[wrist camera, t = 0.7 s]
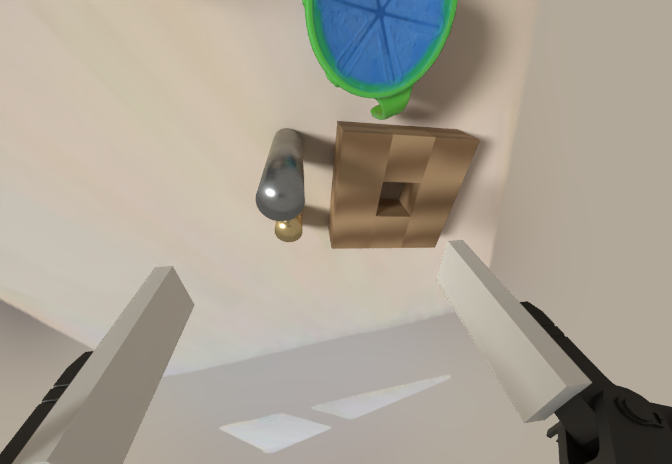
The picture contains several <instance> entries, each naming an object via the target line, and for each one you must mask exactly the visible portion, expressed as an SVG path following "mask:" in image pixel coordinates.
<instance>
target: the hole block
mask: <svg viewBox="0 0 672 464" xmlns="http://www.w3.org/2000/svg"><path fill="white" fill-rule="evenodd" d="M479 141H480V140H479V139H477V138H475V137H472V136H470V135H468V134H466V133H464V132H462V131H460V130H457V129H444V128H429V127H415V126H401V125H386V124H372V123H358V122H343V121H337V133H336V145H335V156H334V168H333V180H332V192H331V204H330V215H329V227H328V229H329V235H330V241H331V247H332V249H337V248H429V247H435V246H436V244H437V241H438V239H439V237H440V234H441V232H442V229H443V227H444V225H445V222H446V220H447V218H448V215H449V213H450V210H451V208H452V206H453V203H454V201H455V199H456V196H457V194H458V191H459V189H460V187H461V184H462V182H463V179H464V177H465V175H466V172H467V170H468V168H469V165H470V163H471V160H472V158H473V156H474V153H475V151H476V149H477V146H478V144H479ZM383 182H403V185H402V189H401V193H400V197H399V199H380V194H381V189H382V185H383Z"/></svg>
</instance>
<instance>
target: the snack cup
mask: <svg viewBox="0 0 672 464" xmlns="http://www.w3.org/2000/svg"><path fill="white" fill-rule="evenodd" d="M302 1H303V5H304V7H305V17H306V25H307V31H308V36H309V39H310V43H311V46H312V49H313V51H314V53H315V56H316V58H317V60H318V62H319V63H320V65H321V67H322V68H323V70H324V71H325V73H326V76H327V78H328V79H329V80H330V82H331V83H333V84H334V85H335V87H341V88H342V89H344V90H345V91H347V92H349V93H351V94H354V95H357V96H360V97H365V98H374V99H376V100H377V101H378V102H379V104H380V105H377V106H375V107H374V108H372V110H371V113H372V116H373V117H375V118H377V119H381V120H383V119H387V118H389V117H392V116H393V115H397V114H399V113H401V112H402V111H403V110H404V109H405V107H406V105H407V103H408V100H409V98H410V94H411V90H412V87H413V85H414V83H415V82H416V81H418V80H419V79H420V78H421V77H422V76H423V75H424V74H425V73H426V72H427V71H428V70H429V68H430V67H431V66H432V65H433V63H434V62H435V60H436V59H437V58H438V56H439V54H440V52H441V51H442V49H443V47H444V45H445V42H446V40H447V38H448V36H449V34H450V31H451V28H452V23H453V20H454V17H455V12H456V7H457V0H302Z"/></svg>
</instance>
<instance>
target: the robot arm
mask: <svg viewBox="0 0 672 464" xmlns="http://www.w3.org/2000/svg"><path fill="white" fill-rule="evenodd" d="M436 281H437V282H438V284H439V286H440V287H441V289H442V290H443V292H444V294H445V295H446V297H447V299H448V300H449V302H450V303H451V305H452V307H453V308H454V310H455V312H456V313H457V315H458V316H459V318H460V320H461V321H462V323H463V324H464V326H465V328H466V329H467V331H468V333H469V334H470V336H471V337H472V339H473V341H474V342H475V344H476V346H477V347H478V349H479V351H480V352H481V354H482V355H483V357H484V359H485V360H486V362H487V363H488V365H489V366H490V368H491V370H492V372H493V373H494V375H495V376H496V378H497V380H498V381H499V383H500V384H501V386H502V387H503V389H504V391H505V393H506V394H507V396H508V398H509V399H510V401H511V402H512V404H513V405H514V407H515V409H516V411H517V412H518V414H519V415H520V417H521V419H522V420H523V422H524V423H528V422H534V421H540V420H545V419H547V418H548V417H549V416H550V415H552V414H553V413H555V414H556V416H557V417H558V419H559V420H560V421H559V422H558V423H557V424H555V425H554V426H553V427H551V428H550V429H549V430H548V431H547V437H549V438H552V437H553V436H554V435H556V434H558V439H557V441H556V442H558V445H559V462H560V464H672V407H669V406H664V405H660V404H655V403H650V402H649V401H647V400H646V399H645V398H643V397H642V396H641V395H639V394H637V393H635V392H633V391H631V390H629V389H627V388H624V387H621V386H616V385H615V384H613V383H612V382H611V381H610V380H609V379H608V378H607V377H605V376H604V374H603V373H602V372H601V371H600V370H599V369H598V368H597V367H596V366H595V365H594V364H593V363H592V362H591V361H590V360H589V359H588V358H587V357H586V356H585V355H584V354H583V353H582V352H581V351H580V350H579V349H578V348H577V347H576V346H575V345H574V344H573V342H571V340H570V339H569V338H568V337H565V336H564V333H563V332H562V331H561V330H560V329H559V328H558V327H557V326H555V325H554V323H553V322H552V321H551V320H550V319H549V318H548V317H547V316H546V315H545V314H544V313H543V312H542V311H541V310H540V309H538V308H537V307H535V306H534V305H532V304H531V303H529V302H519V301H518V300H517V299H516V298H515V297H514V296H513V295H512V294H511V293H510V291H509V290H508V289H507V288H506V287H505V286H504V285H503V284H502V283H501V282H500V280H499V279H498V278H497V277H496V276H495V275H494V274H493V273H492V272H491V271H490V269H489V268H488V267H487V266H486V265H485V264H484V263H483V262H482V261H481V260H480V258H479V257H478V256H477V255H476V254H475V253H474V252H473V251H472V250H471V249H470V247H469V246H468V245H467V244H466V243H465V242H464V241H463V240H456V241H448V243H447V246H446V249H445V253H444V256H443V259H442V263H441V266H440V269H439V272H438V276H437V279H436ZM193 307H194V303H193V301H192V300H191V298H190V296H189V294H188V293H187V291H186V289H185V287H184V285H183V284H182V282H181V280H180V278H179V276H178V275H177V273H176V271H175V269H174V267H173V266H166V267H155V268H154V270H153V271H152V272H151V274H150V275H149V276H148V278H147V279H146V281H145V282H144V283H143V285H142V286H141V287H140V289H139V290H138V292H137V293H136V294H135V296H134V297H133V298H132V300H131V301H130V302H129V304H128V305H127V307H126V308H125V309H124V311H123V312H122V313H121V315H120V316H119V318H118V319H117V320H116V322H115V323H114V324H113V326H112V327H111V329H110V330H109V331H108V333H107V334H106V335H105V337H104V338H103V339H102V341H101V342H100V344H99V345H98V346H97V348H96V349H95V350H94V351H91V352H85V353H84V354H83V355H81V356H80V357H79V358H78V359H77V360H76V361H75V362H74V363H72V364H71V365H70V366H69V367H68V368H67V369H66V370H65V371H64V373H63V374H62V375H61V377H60V378H59V379H58V380H57V382H56V383H55V384H54V388H53V389H50V391H49V392H48V393H47V395H46V396H45V397H44V399H43V400H42V403H41V404H39V405H38V406H37V407H36V409H35V410H34V411H33V413H32V414H31V415H30V416H29V418H28V419H27V420H26V422H25V423H24V424H23V426H22V427H21V428H20V429H19V431H18V432H17V433H16V434H15V436H14V437H13V438H12V440H11V441H10V442H9V444H8V445H7V446H6V447H5V449H4V450H3V451H2V452H1V454H0V464H123V462H124V459H125V457H126V455H127V453H128V451H129V448H130V446H131V444H132V442H133V440H134V437H135V435H136V433H137V431H138V429H139V426H140V424H141V422H142V420H143V418H144V415H145V413H146V411H147V409H148V406H149V404H150V402H151V400H152V398H153V395H154V393H155V391H156V389H157V387H158V384H159V382H160V380H161V378H162V376H163V373H164V371H165V369H166V367H167V365H168V362H169V360H170V358H171V356H172V353H173V351H174V349H175V347H176V345H177V342H178V340H179V338H180V336H181V334H182V331H183V329H184V327H185V325H186V322H187V320H188V318H189V316H190V314H191V311H192V309H193Z"/></svg>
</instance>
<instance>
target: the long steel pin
mask: <svg viewBox="0 0 672 464" xmlns="http://www.w3.org/2000/svg"><path fill="white" fill-rule="evenodd" d="M256 204H257V207H258V209H259V210H260V212H261V213H262V214H263V215H265V216H266V217H268V218H269V219H272V220H275V221H288V220H291V219H294V218H296V217H297V216H298V215H299V214H300V213H301V212H302V210H303V208H304V204H305V197H304V170H303V144H302V139H301V137H300V135H299V134H298V133H297V132H296V131H294V130H292V129H289V128H285V129H281V130H279V131H278V132H277V133H276V134H275V136H274V139H273V142H272V145H271V149H270V152H269V155H268V158H267V162H266V165H265V168H264V171H263V174H262V178H261V181H260V184H259V187H258V191H257V194H256Z"/></svg>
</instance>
